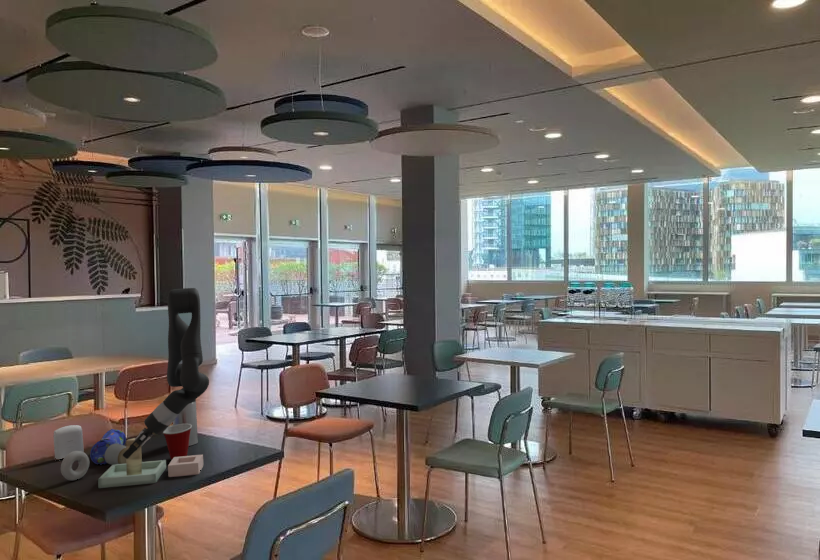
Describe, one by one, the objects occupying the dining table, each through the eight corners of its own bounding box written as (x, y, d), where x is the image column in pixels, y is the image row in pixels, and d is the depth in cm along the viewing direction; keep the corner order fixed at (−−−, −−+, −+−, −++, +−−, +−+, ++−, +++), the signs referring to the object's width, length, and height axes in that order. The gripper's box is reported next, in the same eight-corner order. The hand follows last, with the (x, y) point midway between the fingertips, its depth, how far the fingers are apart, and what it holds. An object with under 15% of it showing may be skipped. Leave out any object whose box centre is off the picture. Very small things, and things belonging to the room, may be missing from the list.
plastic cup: (156, 461, 230) (155, 429, 229) (179, 453, 239) (178, 422, 239) (177, 464, 225) (175, 432, 224) (199, 456, 234) (198, 424, 234)
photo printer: (56, 461, 235) (55, 429, 235) (53, 459, 238) (51, 428, 238) (85, 455, 242) (83, 424, 242) (81, 453, 245) (80, 422, 245)
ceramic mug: (118, 469, 221) (118, 448, 221) (104, 467, 225) (103, 446, 225) (143, 461, 231) (143, 441, 231) (129, 459, 235) (128, 439, 235)
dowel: (128, 472, 213) (128, 438, 213) (143, 471, 214) (142, 437, 214) (124, 477, 209) (124, 442, 208) (139, 476, 209) (139, 441, 209)
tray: (113, 472, 218) (112, 464, 218) (166, 468, 221) (166, 459, 221) (98, 488, 202) (98, 479, 202) (155, 482, 205) (155, 473, 205)
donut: (85, 474, 217) (84, 446, 217) (92, 475, 216) (90, 447, 215) (59, 484, 208) (57, 454, 208) (65, 485, 207) (64, 455, 206)
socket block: (174, 468, 220) (174, 457, 220) (203, 465, 222) (202, 454, 222) (168, 477, 210) (167, 465, 210) (198, 474, 212) (198, 462, 212)
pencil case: (114, 464, 228) (113, 439, 228) (89, 467, 226) (87, 441, 226) (127, 448, 250) (126, 425, 249) (104, 451, 248) (103, 427, 247)
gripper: (158, 406, 219) (125, 441, 217) (148, 415, 205) (113, 452, 203) (174, 419, 220) (142, 454, 218) (165, 429, 206) (131, 466, 204)
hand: (128, 453), depth 211 cm, fingers open, 7 cm apart
